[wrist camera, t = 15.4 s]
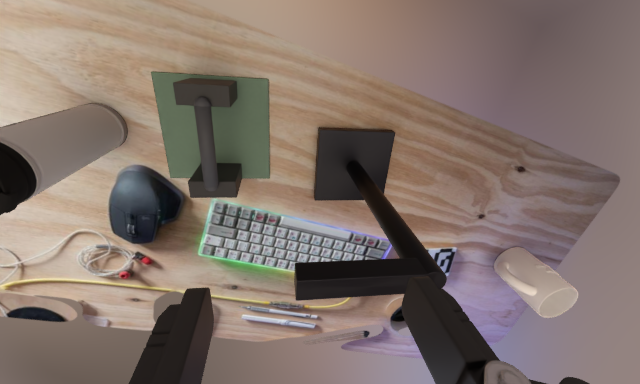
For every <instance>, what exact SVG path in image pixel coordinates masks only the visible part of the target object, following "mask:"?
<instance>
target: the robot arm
mask: <svg viewBox="0 0 640 384" xmlns="http://www.w3.org/2000/svg"><path fill="white" fill-rule="evenodd" d="M402 313H403V317H404V319H405V321H406V323H407V325H408V327H409V330H410V332H411V334H412V336H413V338H414V340H415V342H416V344H417V346H418V348H419V350H420V352H421V354H422V356H423V358H424V360H425V363H426V365H427V367H428V369H429V371H430V373H431V375H432V377H433V379H434V381H435V383H436V384H546V383H542V382H537V381H533V380H529V379H528V378H527V377H526V376H525V375H524V374H523V373H522V372H521V371H519V370H518V369H517V368H515V367H514V366H512V365H510V364H508V363H506V362H502V361H500V360H499V359H498V357H497V356H496V355H495V353H494V352H493V351H492V349H491V348H490V347H489V345H488V344H487V342H486V341H485V340H484V338H483V337H482V336H481V334H480V333H479V331H478V330H477V329H476V327H475V326H474V325H473V323H472V322H471V321H469V318H468V316H467V315H466V314H465V312H463V311H462V308H461V307H460V306H459V304H458V303H457V301H456V300H455V299H454V298H453V297H452V296H451V295H450V294H448V293H447V292H446V291H445V290H443V289H438V288H437V286H436V285H435V283H434V282H433V280H432V279H431V278H430V277H411V278H410V279H409V280H408V284H407V287H406V291H405V294H404V298H403V302H402ZM213 323H214V316H213V309H212V302H211V295H210V289H209V288H192V289H187V290H186V291H185V294H184V296H183V299H182V302H181V304H177V305H170V306H169V307H168V308H167V309H166V310H165V311H164V312H163V313H162V314H161V315H160V316H159V317H158V319H157V322H156V324H155V326H154V328H153V331H152V335H150V337H149V340H148V342H147V345H146V348H145V349H144V351H143V353H142V355H141V358H140V360H139V362H138V364H137V367H136V369H135V371H134V373H133V376H132V378H131V380H130V382H129V384H201V380H202V376H203V372H204V368H205V363H206V359H207V354H208V350H209V345H210V341H211V337H212V332H213ZM559 384H589V383H587V382H585V381H583V380H580V379H577V378H573V377H567V378H564V379H563V380H562V381H561V382H560V383H559Z"/></svg>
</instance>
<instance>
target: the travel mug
mask: <svg viewBox="0 0 640 384" xmlns="http://www.w3.org/2000/svg"><path fill="white" fill-rule="evenodd" d="M126 137H127V127H126V124H125V122H124V120H123V119H122V117H121V116H120V115H119V114H118V113H117V112H116V111H115V110H113V109H112V108H110V107H108V106H106V105H103V104H98V103H90V104H86V105H82V106H78V107H74V108H70V109H67V110H63V111H59V112H55V113H52V114H48V115H44V116H40V117H37V118H33V119H29V120H25V121H22V122H18V123H14V124H10V125H7V126H3V127H0V215H1V214H3V213H8V212H10V211H12V210H14V209H15V208H16V207H17V205H18V204H19V203H22V202H24V201H26V200H28V199H30V198H32V197H33V196H35V195H37V194H39V193H40V192H42V191H44V190H45V189H47V188H49V187H50V186H52V185H54V184H56V183H57V182H59V181H61V180H62V179H64V178H66V177H67V176H69V175H71V174H73V173H74V172H76V171H78V170H79V169H81V168H83V167H84V166H86V165H88V164H90V163H91V162H93V161H95V160H96V159H98V158H100V157H101V156H103V155H105V154H107V153H108V152H110V151H112V150H113V149H115V148H117V147H118V146H120V145H121V144H123V142H124V141H125V140H126Z"/></svg>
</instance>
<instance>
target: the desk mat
mask: <svg viewBox="0 0 640 384" xmlns="http://www.w3.org/2000/svg"><path fill="white" fill-rule="evenodd" d="M151 74H152V80H153V85H154V91H155V96H156V101H157V107H158V112H159V118H160V123H161V129H162V134H163V139H164V145H165V150H166V156H167V161H168V167H169V172H170V178H191V177H192V175H193V174H194V172H195V171H196V169H197V168H198V166H199V165H200V164H201V158H200V150H199V142H198V134H197V126H196V119H195V111H194V106H190V105H176V100H175V94H174V88H173V82H177V81H181V80H184V79H188V78H202V79H218V80H235V81H237V97H238V99H237V100H236V101H235V102H234V103H233V105H232V106H231V107H212V106H211V112H212V122H213V132H214V142H215V152H216V161H217V163H241V165H242V178H270V168H269V86H268V79H261V78H245V77H229V76H213V75H197V74H181V73H165V72H151Z"/></svg>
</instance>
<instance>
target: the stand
mask: <svg viewBox="0 0 640 384" xmlns="http://www.w3.org/2000/svg"><path fill="white" fill-rule="evenodd" d="M394 136H395V132H394V131H392V130H375V129H348V128H320V127H319V128H318V141H317V156H316V171H315V186H314V199H315V200H365V201H366V203H367V205H368V206H369V208H370V210H371V211H372V213H373V215H374V216H375V218H376V220H377V221H378V223H379V224H380V226H381V228H382V229H383V231H384V233H385V234H386V236H387V238H388V239H389V241H390V243H391V244H392V246H393V247H394V249H395V251H396V252H397V254H398V256H399V257H400V259H378V260H354V261H331V262H307V263H295V279H294V283H295V295H296V300H313V299H329V298H344V297H360V296H376V295H391V294H405V291H406V287H407V284H408V280H409V279H410V278H411V277H430V278H431V279H432V280H433V282H434V283H435V285H436V286H437V288H438V289H441V288H443V286H444V285H445V283H446V280H447V279H446V275H445V274H444V272H443V271H442V270H441V268H440V267H439V266H438V265H437V263H436V262H435V261H434V259H433V258H432V257H431V255H430V254H429V253H428V252H427V250H426V249H425V248H424V246H423V245H422V244H421V242H420V241H419V240H418V239H417V237H416V236H415V235H414V233H413V232H412V231H411V229H410V228H409V227H408V226H407V224H406V223H405V222H404V220H403V219H402V218H401V216H400V215H399V214H398V213H397V211H396V210H395V209H394V207H393V206H392V205H391V203H390V202H389V201H388V200H387V198H386V197H385V196H384V189H385V183H386V178H387V173H388V168H389V162H390V157H391V152H392V147H393V142H394Z"/></svg>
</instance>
